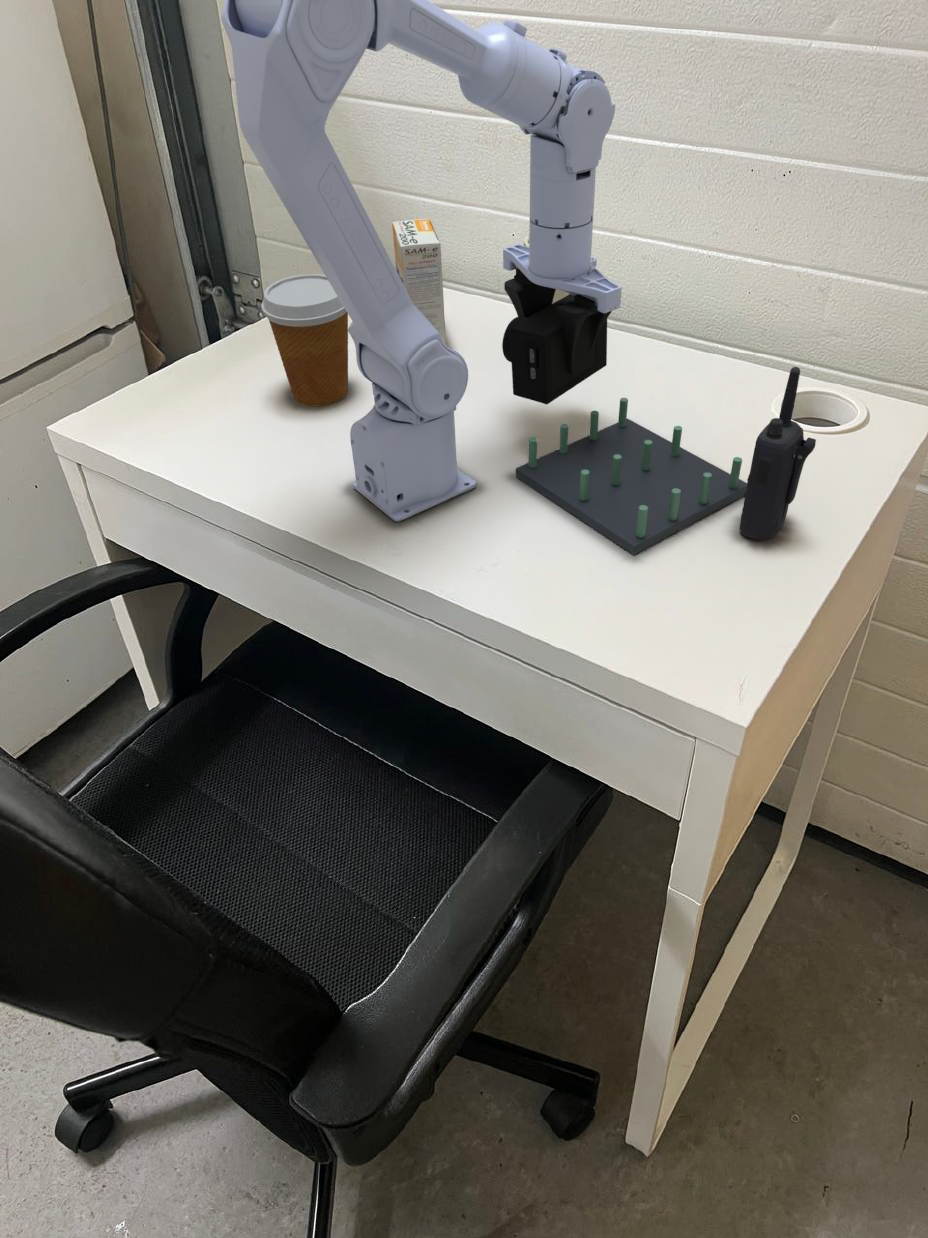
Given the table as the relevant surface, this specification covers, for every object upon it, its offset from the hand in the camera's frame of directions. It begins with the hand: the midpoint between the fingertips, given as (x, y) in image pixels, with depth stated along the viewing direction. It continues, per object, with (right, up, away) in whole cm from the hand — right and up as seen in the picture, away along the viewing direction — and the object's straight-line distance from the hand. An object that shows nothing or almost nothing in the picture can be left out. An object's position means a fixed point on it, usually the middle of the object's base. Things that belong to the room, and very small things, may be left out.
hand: (556, 359), depth 93 cm
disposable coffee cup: (-26, 0, +13) cm, 29 cm away
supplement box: (-14, +9, +23) cm, 29 cm away
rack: (+7, -13, -3) cm, 15 cm away
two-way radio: (+18, -18, -9) cm, 27 cm away
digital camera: (0, -2, +2) cm, 2 cm away
